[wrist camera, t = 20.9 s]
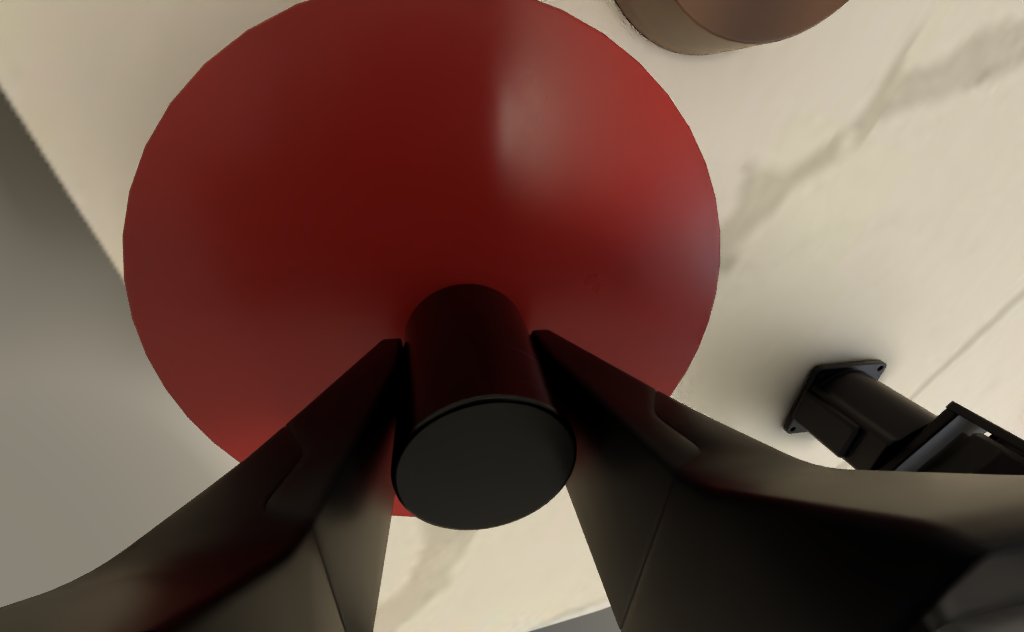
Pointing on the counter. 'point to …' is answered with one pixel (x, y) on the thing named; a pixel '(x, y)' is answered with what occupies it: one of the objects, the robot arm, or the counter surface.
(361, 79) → the lid
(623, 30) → the counter surface
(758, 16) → the walnut block
